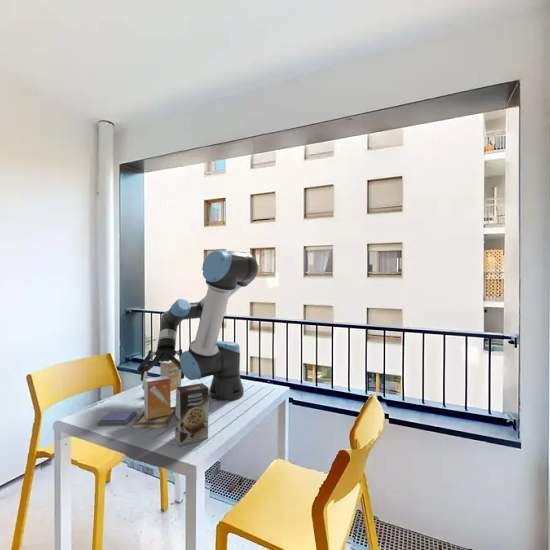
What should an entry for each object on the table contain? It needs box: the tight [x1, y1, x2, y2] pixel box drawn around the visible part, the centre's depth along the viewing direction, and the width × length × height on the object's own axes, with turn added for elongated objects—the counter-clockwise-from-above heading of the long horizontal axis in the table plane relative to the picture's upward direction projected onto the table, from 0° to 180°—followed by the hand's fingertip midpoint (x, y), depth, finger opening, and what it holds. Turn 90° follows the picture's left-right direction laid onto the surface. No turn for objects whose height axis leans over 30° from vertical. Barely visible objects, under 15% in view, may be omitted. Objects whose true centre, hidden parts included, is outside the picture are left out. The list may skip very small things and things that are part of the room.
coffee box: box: [174, 382, 210, 446], centre depth 101 cm, size 9×6×16 cm
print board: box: [131, 406, 176, 429], centre depth 114 cm, size 12×14×2 cm
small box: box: [143, 376, 172, 419], centre depth 115 cm, size 8×6×13 cm
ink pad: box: [96, 410, 138, 426], centre depth 114 cm, size 10×9×2 cm
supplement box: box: [159, 358, 180, 392], centre depth 146 cm, size 8×5×13 cm, turn 154°
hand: (161, 387), depth 125 cm, fingers open, 13 cm apart
